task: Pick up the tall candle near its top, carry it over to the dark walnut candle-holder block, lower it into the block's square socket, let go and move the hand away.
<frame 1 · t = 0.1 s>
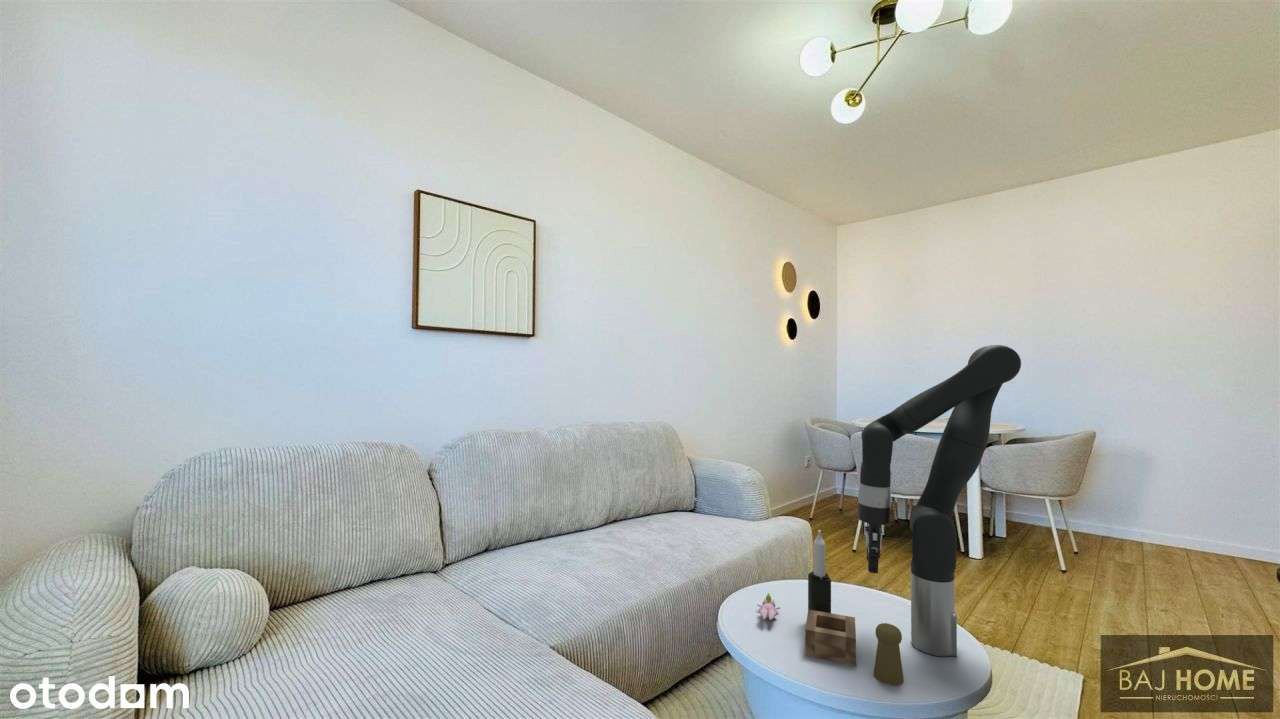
hand: (872, 566, 129), 17 cm above the table, tool pointing down, fingers open, 8 cm apart
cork: (888, 678, 111), on the table
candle: (819, 626, 134), on the table
pink rainbow-tailed figurine: (768, 617, 139), on the table
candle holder: (830, 648, 123), on the table
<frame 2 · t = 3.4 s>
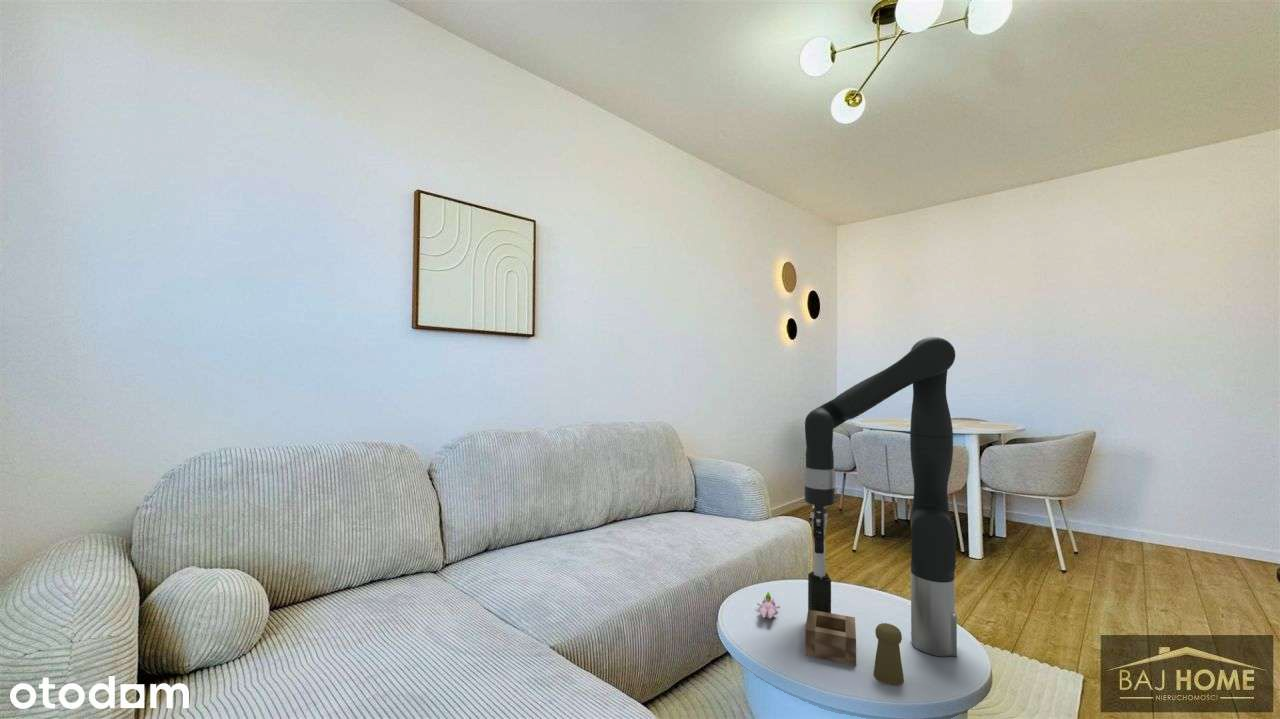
hand: (819, 550, 134), 20 cm above the table, tool pointing down, fingers closed on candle, 3 cm apart
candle: (819, 626, 134), on the table, touching gripper
when the fingers open (22 cm above the table, at t = 7.8 s): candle drops 1 cm, resting on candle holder.
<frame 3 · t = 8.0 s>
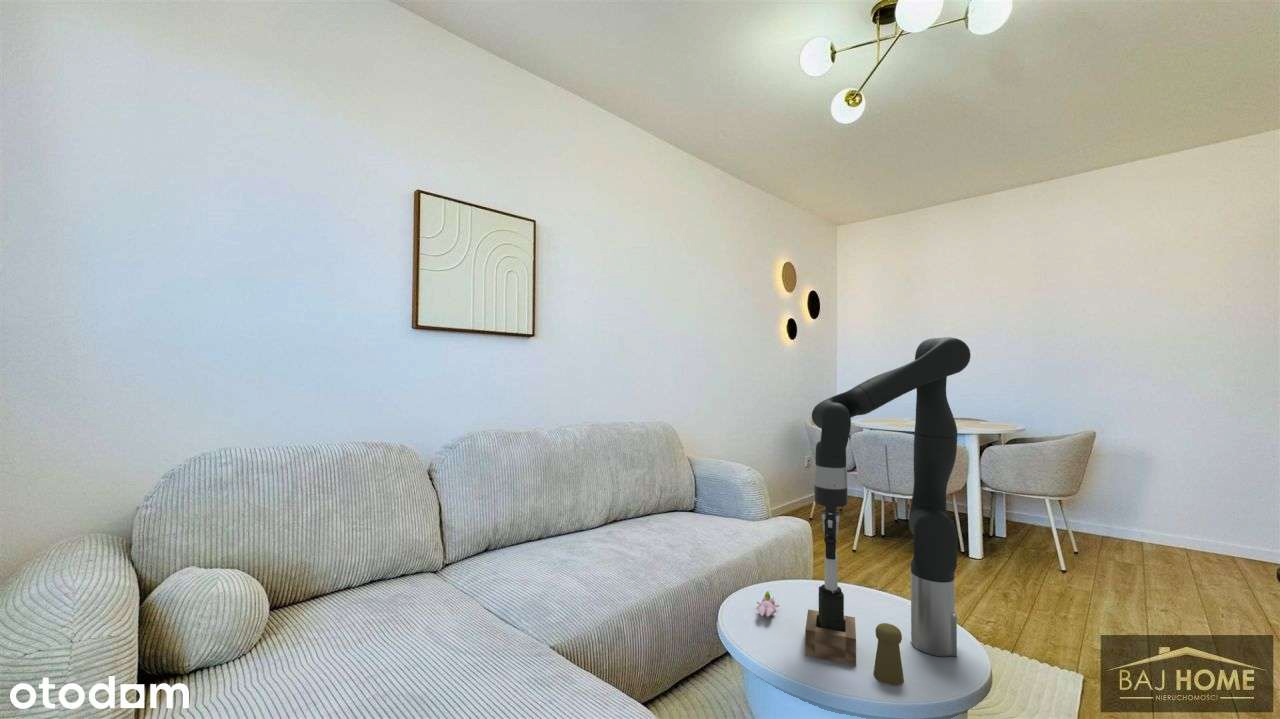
hand: (830, 554, 123), 22 cm above the table, tool pointing down, fingers open, 4 cm apart
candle: (830, 644, 123), point 1 cm above the table, touching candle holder
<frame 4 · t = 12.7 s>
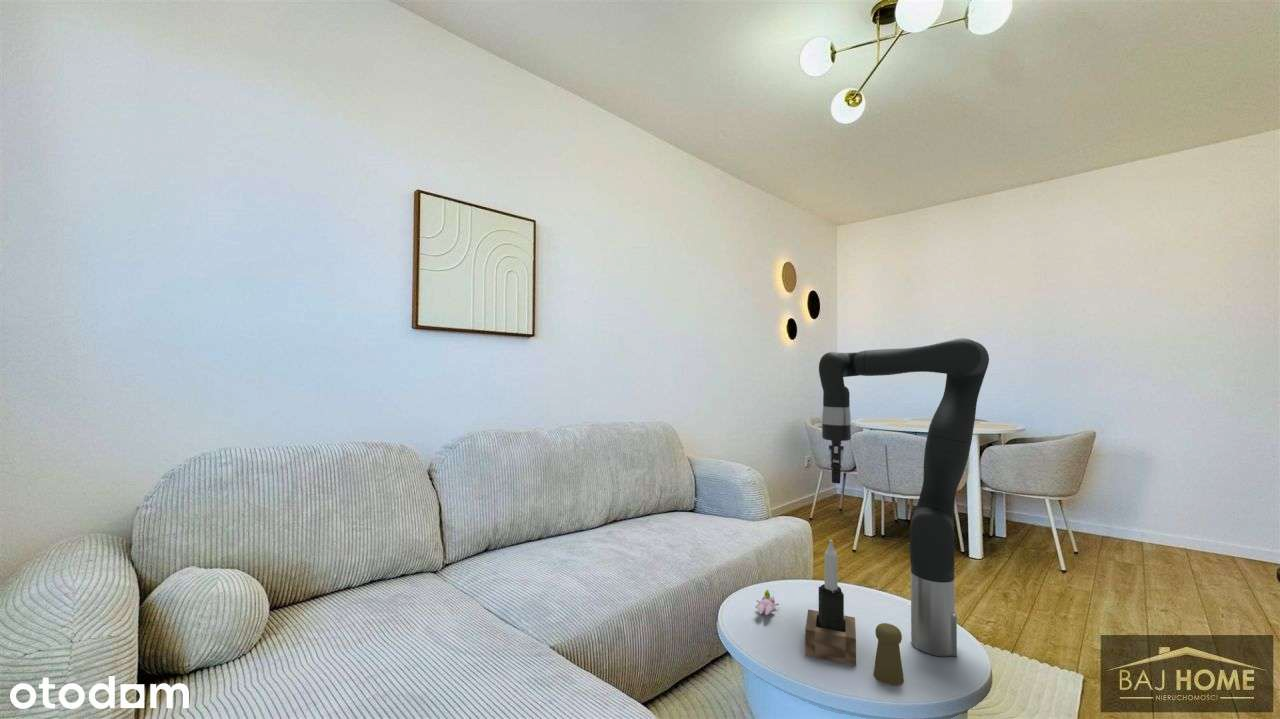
hand: (836, 480, 144), 36 cm above the table, tool pointing down, fingers open, 8 cm apart
at the end: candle 0.1 cm off-centre on the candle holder, point 0.8 cm above the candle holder's base; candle tilted 0°; the gripper is holding nothing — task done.
